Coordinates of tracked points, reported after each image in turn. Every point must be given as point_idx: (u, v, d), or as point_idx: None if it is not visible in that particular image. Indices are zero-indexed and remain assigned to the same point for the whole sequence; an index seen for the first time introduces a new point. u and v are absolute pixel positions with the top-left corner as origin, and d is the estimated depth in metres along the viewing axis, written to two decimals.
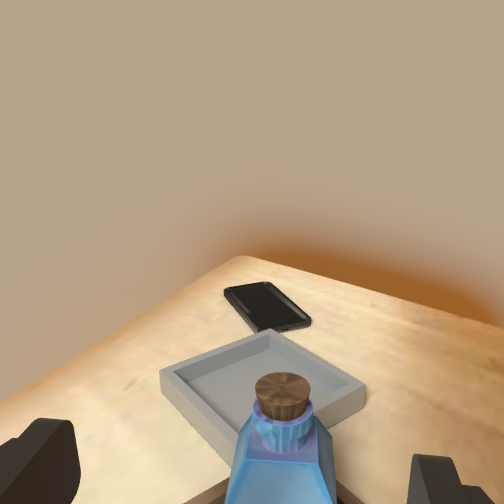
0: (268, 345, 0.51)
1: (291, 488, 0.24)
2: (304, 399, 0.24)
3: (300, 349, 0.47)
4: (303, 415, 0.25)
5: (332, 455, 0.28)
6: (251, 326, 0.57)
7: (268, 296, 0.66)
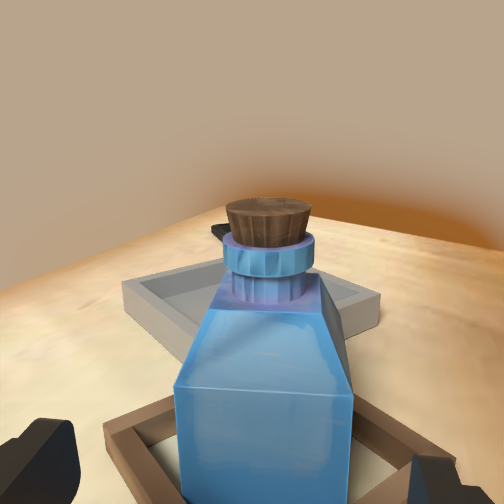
0: None
1: (280, 351, 0.15)
2: (301, 212, 0.16)
3: None
4: (299, 244, 0.16)
5: (342, 331, 0.19)
6: None
7: None
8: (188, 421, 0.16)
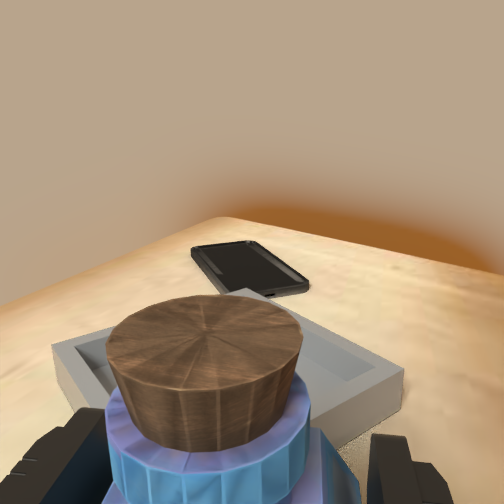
0: None
1: None
2: (277, 370, 0.06)
3: None
4: (275, 430, 0.07)
5: None
6: (221, 290, 0.39)
7: (250, 255, 0.48)
8: None
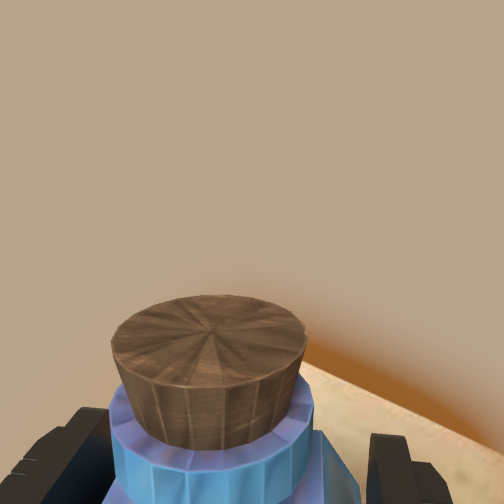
0: None
1: None
2: (281, 369, 0.06)
3: None
4: (278, 430, 0.07)
5: None
6: None
7: None
8: None
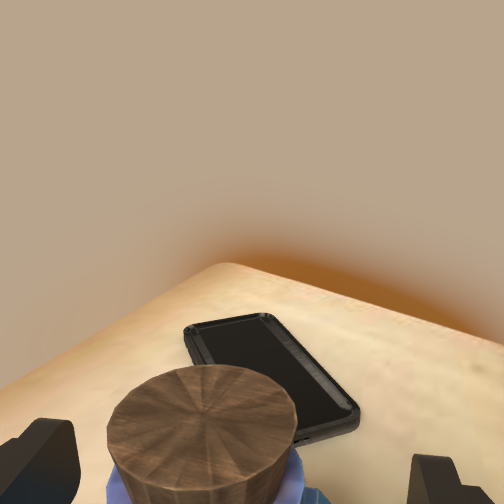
0: None
1: None
2: (269, 465, 0.07)
3: None
4: None
5: None
6: None
7: (267, 344, 0.34)
8: None
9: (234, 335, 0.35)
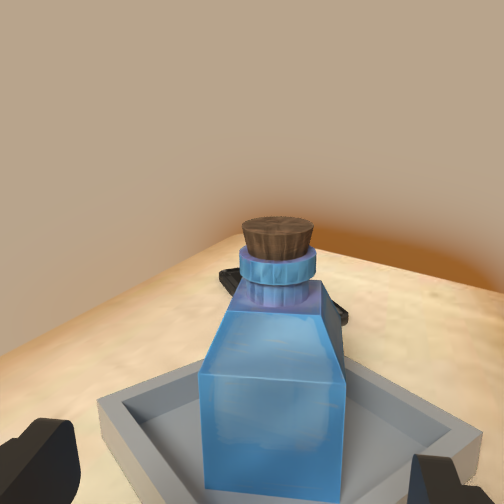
0: None
1: (286, 346, 0.19)
2: (304, 231, 0.19)
3: (345, 361, 0.28)
4: (303, 257, 0.19)
5: (340, 330, 0.22)
6: None
7: None
8: (209, 403, 0.19)
9: None
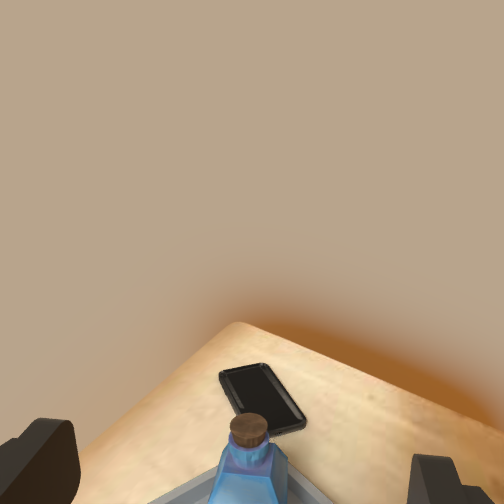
0: None
1: (252, 493, 0.37)
2: (261, 434, 0.37)
3: (295, 473, 0.46)
4: (261, 444, 0.37)
5: (285, 471, 0.40)
6: None
7: (264, 383, 0.64)
8: None
9: (246, 377, 0.65)
